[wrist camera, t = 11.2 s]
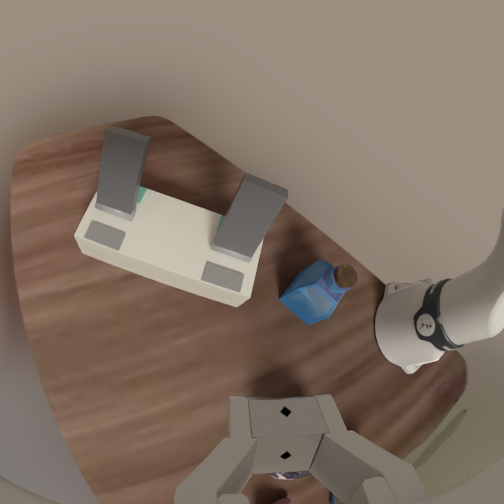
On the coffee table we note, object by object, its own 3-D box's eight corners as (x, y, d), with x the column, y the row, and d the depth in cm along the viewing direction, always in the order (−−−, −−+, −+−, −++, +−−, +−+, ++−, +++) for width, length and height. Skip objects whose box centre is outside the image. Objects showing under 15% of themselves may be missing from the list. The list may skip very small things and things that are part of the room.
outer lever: (134, 215, 37) (152, 137, 29) (129, 224, 35) (146, 143, 28) (100, 203, 35) (111, 124, 28) (94, 211, 34) (104, 130, 27)
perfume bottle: (299, 272, 49) (341, 243, 38) (326, 297, 49) (372, 274, 38) (278, 299, 46) (319, 275, 35) (307, 325, 46) (353, 308, 35)
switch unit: (251, 247, 48) (265, 230, 42) (236, 307, 43) (250, 297, 38) (109, 197, 42) (106, 173, 37) (82, 252, 38) (73, 234, 32)
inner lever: (249, 255, 40) (288, 189, 32) (248, 265, 39) (288, 198, 31) (212, 242, 39) (244, 171, 31) (209, 252, 38) (242, 180, 30)
